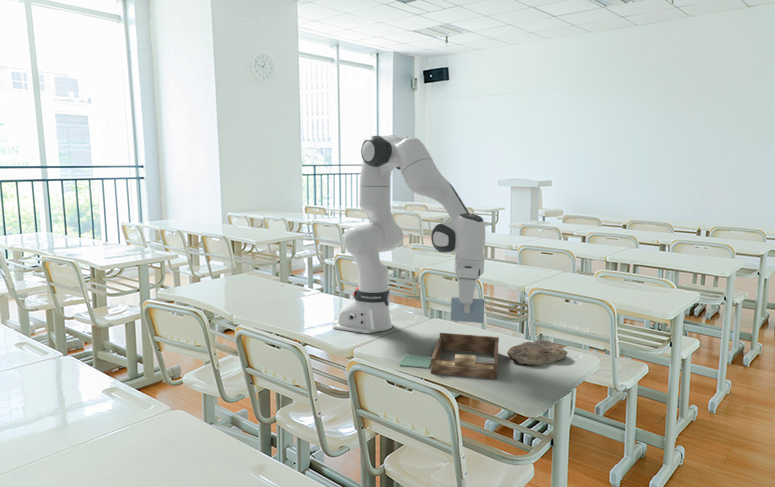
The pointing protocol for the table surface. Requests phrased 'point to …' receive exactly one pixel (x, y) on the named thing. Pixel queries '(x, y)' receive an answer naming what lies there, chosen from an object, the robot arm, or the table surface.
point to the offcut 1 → (445, 362)
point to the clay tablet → (537, 352)
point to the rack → (466, 345)
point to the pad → (416, 361)
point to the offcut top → (465, 360)
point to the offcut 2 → (484, 366)
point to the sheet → (473, 316)
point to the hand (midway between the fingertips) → (467, 311)
